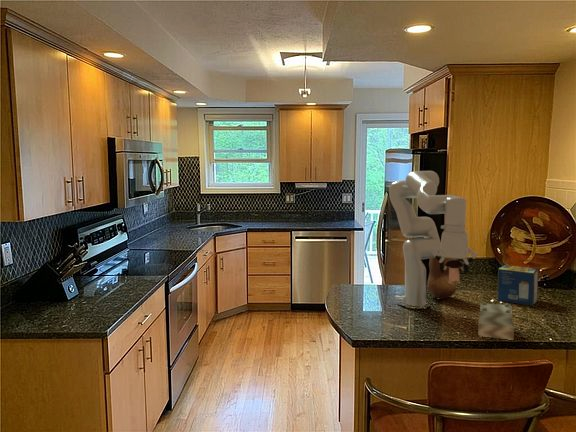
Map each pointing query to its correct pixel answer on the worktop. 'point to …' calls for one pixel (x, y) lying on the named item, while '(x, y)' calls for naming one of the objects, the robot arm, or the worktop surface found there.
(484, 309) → the grey studded block
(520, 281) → the protein box
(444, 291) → the butternut squash
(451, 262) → the grandmother figurine
